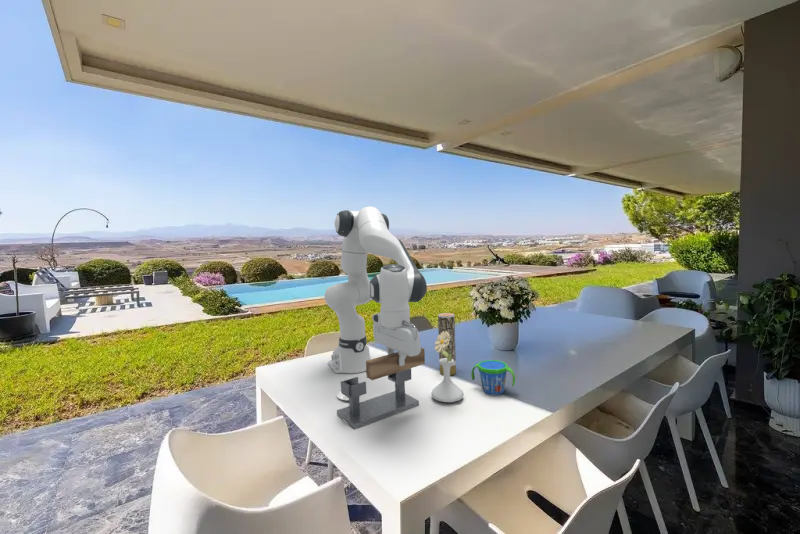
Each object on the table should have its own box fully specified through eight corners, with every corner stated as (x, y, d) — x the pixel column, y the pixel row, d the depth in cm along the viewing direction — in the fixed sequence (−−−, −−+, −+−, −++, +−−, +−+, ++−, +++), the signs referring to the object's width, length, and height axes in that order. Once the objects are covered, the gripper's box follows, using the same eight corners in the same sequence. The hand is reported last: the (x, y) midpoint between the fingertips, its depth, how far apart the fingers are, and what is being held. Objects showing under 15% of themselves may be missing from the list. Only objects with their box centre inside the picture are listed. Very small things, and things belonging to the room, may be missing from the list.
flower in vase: (430, 391, 134) (428, 325, 132) (461, 391, 134) (459, 324, 132) (432, 408, 121) (430, 334, 119) (466, 407, 121) (465, 333, 119)
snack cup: (467, 392, 132) (466, 365, 132) (478, 382, 141) (478, 357, 140) (509, 402, 123) (509, 373, 123) (519, 390, 132) (518, 363, 131)
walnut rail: (366, 377, 106) (365, 360, 105) (418, 361, 118) (418, 346, 117) (372, 380, 103) (371, 363, 103) (424, 363, 115) (424, 348, 115)
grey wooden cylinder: (455, 376, 148) (454, 316, 146) (439, 376, 149) (437, 316, 147) (456, 370, 154) (454, 312, 153) (440, 370, 156) (438, 312, 154)
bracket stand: (336, 414, 119) (335, 379, 118) (398, 393, 133) (397, 361, 133) (354, 429, 109) (352, 390, 108) (419, 405, 124) (417, 370, 123)
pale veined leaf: (353, 388, 139) (353, 382, 138) (365, 402, 128) (365, 395, 128) (334, 394, 135) (333, 388, 135) (344, 409, 125) (343, 402, 124)
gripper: (425, 322, 102) (426, 370, 104) (385, 311, 119) (387, 352, 120) (407, 326, 99) (408, 375, 100) (369, 314, 115) (370, 357, 117)
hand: (396, 363), depth 110 cm, fingers closed on walnut rail, 3 cm apart
